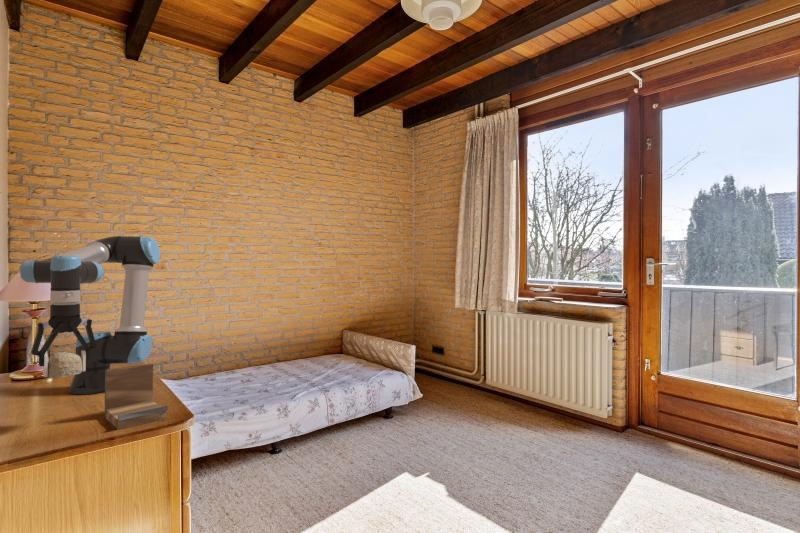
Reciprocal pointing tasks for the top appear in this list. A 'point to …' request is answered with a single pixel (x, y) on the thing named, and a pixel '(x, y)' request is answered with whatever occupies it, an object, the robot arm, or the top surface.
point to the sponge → (64, 364)
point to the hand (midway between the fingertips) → (64, 373)
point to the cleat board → (131, 397)
